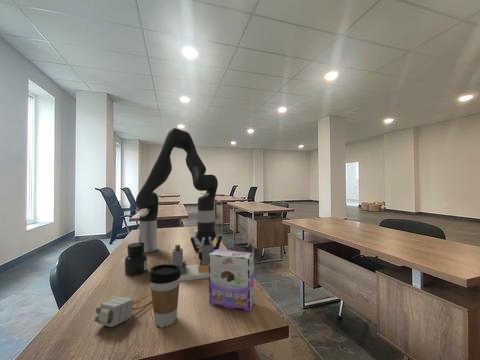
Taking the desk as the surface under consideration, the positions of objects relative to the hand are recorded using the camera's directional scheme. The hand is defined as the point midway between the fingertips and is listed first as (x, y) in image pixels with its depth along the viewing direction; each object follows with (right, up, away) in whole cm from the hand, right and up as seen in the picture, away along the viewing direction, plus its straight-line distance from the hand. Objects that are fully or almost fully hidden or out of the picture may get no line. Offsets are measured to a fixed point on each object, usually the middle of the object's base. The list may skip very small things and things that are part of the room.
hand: (206, 259), depth 97 cm
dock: (-6, -5, -1) cm, 8 cm away
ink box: (-7, -6, +30) cm, 32 cm away
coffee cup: (-7, -6, -33) cm, 35 cm away
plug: (0, -2, 0) cm, 2 cm away
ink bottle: (-31, -6, +1) cm, 32 cm away
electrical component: (-18, -6, -26) cm, 33 cm away
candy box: (+12, -6, -25) cm, 28 cm away
